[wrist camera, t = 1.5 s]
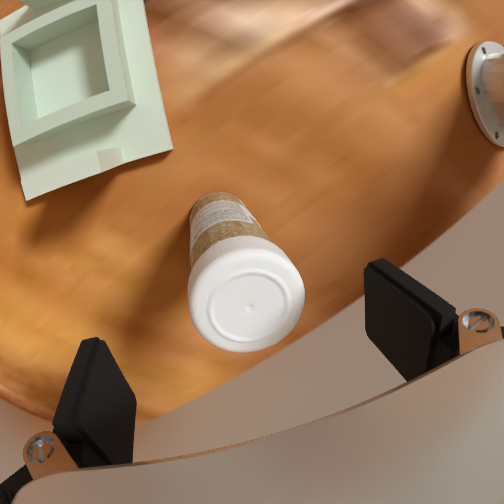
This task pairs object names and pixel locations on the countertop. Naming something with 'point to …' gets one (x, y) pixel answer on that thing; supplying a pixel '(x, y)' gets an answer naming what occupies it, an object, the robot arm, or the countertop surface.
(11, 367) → the countertop surface
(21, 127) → the caddy
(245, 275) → the sprinkles bottle
